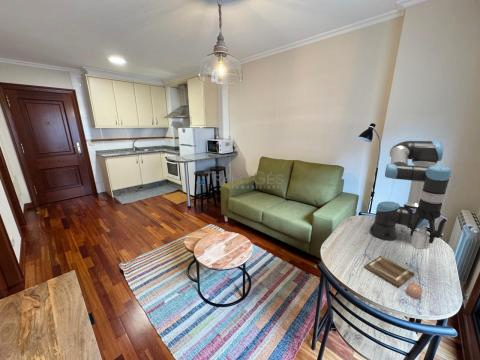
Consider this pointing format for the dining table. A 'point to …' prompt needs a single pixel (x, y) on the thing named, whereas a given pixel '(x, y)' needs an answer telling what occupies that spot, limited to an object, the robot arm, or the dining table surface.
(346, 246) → the dining table surface
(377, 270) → the board
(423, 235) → the eye dropper bottle
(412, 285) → the egg
